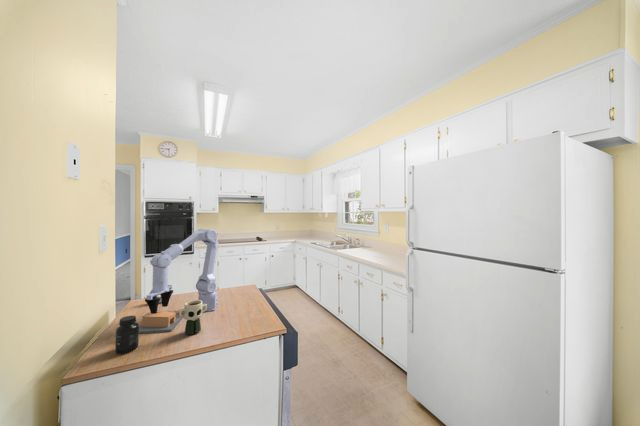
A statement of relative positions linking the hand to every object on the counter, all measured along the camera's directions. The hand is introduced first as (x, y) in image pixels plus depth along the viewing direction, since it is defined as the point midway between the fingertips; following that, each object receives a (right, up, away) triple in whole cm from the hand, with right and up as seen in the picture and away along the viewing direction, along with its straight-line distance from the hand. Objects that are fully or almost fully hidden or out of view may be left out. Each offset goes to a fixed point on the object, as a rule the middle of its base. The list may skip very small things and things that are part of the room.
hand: (159, 309), depth 106 cm
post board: (0, -8, 0) cm, 8 cm away
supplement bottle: (0, -8, -18) cm, 20 cm away
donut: (-19, -8, +27) cm, 34 cm away
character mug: (+18, -8, -5) cm, 20 cm away
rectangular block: (0, -7, 0) cm, 7 cm away
